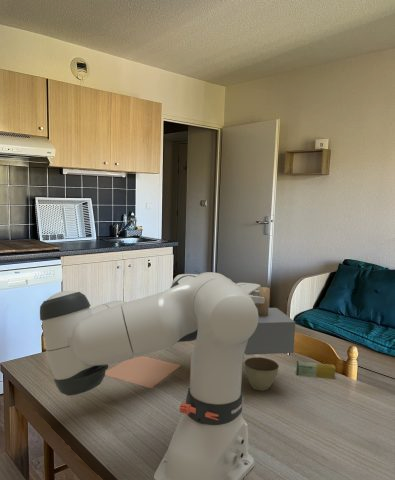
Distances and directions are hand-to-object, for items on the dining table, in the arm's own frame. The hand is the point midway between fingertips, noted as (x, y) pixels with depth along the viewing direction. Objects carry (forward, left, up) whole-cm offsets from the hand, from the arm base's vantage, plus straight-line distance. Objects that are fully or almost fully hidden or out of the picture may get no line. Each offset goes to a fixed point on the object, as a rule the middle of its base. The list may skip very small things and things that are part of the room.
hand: (266, 298), depth 114 cm
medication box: (+16, -13, -27) cm, 34 cm away
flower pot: (0, 0, -27) cm, 27 cm away
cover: (0, +1, -14) cm, 14 cm away
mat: (-9, +36, -27) cm, 46 cm away
